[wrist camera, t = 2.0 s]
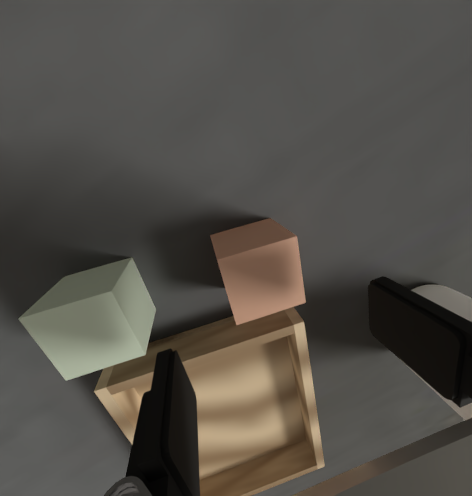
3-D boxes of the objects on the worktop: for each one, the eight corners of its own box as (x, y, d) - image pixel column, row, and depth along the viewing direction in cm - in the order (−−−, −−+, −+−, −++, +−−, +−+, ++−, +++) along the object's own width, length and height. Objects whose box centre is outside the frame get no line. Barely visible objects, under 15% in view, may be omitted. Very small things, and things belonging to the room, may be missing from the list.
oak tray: (108, 355, 18) (93, 391, 15) (287, 298, 19) (304, 321, 16) (187, 482, 25) (187, 521, 23) (310, 435, 27) (324, 466, 24)
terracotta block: (209, 234, 16) (216, 260, 12) (269, 217, 16) (297, 236, 12) (225, 287, 18) (236, 325, 14) (279, 270, 18) (305, 302, 14)
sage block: (64, 275, 15) (18, 318, 11) (132, 256, 15) (111, 290, 11) (96, 327, 17) (66, 380, 13) (156, 308, 17) (145, 354, 13)
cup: (414, 356, 25) (545, 469, 16) (336, 329, 22) (449, 456, 12) (465, 296, 23) (648, 385, 14) (389, 255, 20) (571, 338, 10)
